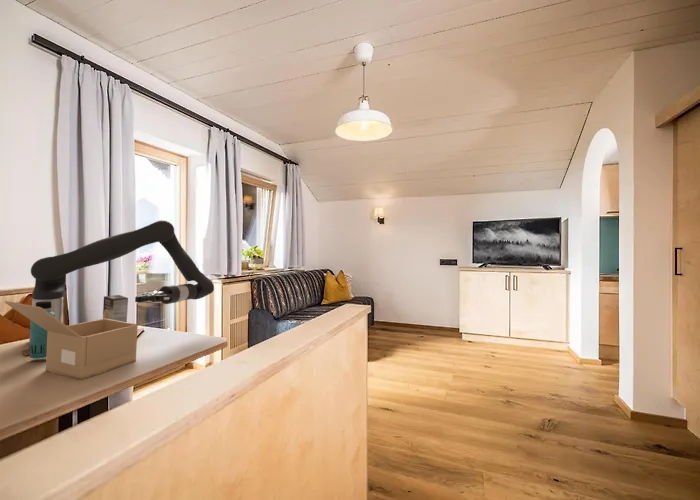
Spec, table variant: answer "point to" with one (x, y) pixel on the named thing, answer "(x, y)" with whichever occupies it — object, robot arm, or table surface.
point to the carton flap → (42, 318)
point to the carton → (92, 348)
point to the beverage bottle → (39, 335)
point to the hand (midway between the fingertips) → (136, 299)
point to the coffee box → (115, 308)
